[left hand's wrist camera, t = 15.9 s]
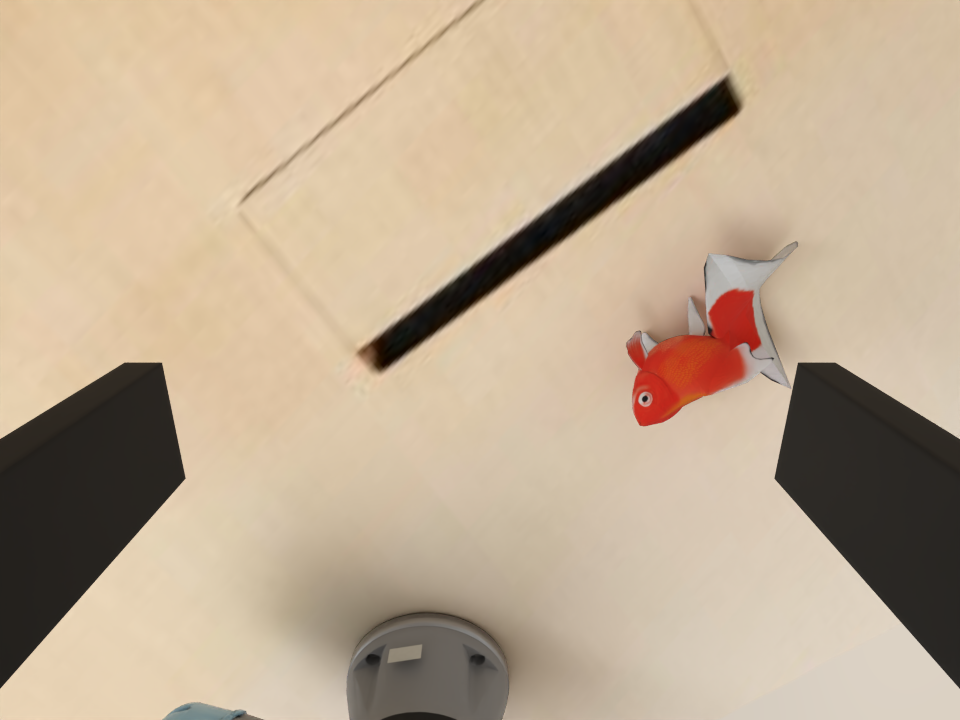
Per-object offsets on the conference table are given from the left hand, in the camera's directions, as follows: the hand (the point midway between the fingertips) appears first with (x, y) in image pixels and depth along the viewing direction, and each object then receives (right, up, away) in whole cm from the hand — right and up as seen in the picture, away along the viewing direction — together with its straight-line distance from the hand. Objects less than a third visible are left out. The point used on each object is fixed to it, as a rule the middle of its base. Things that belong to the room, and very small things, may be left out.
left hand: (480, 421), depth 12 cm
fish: (+16, +5, +31) cm, 36 cm away
